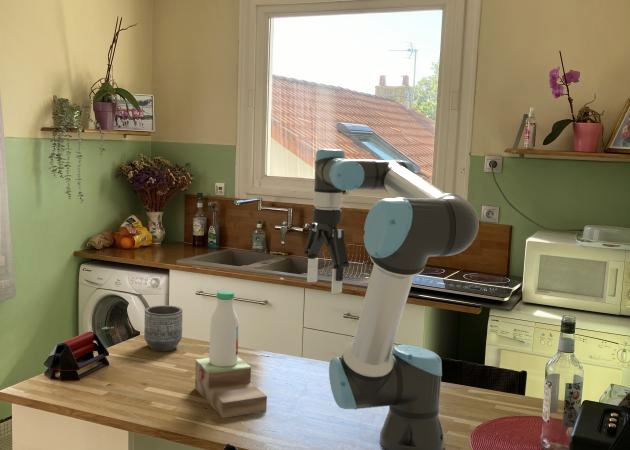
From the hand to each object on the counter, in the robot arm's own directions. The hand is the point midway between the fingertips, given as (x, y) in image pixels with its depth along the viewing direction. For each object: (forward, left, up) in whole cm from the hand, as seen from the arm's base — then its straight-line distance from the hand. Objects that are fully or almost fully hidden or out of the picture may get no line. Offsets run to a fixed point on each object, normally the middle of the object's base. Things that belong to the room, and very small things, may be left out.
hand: (323, 287), depth 188 cm
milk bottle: (+16, +22, -24) cm, 36 cm away
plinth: (+10, +22, -32) cm, 40 cm away
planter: (+60, +26, -32) cm, 73 cm away
